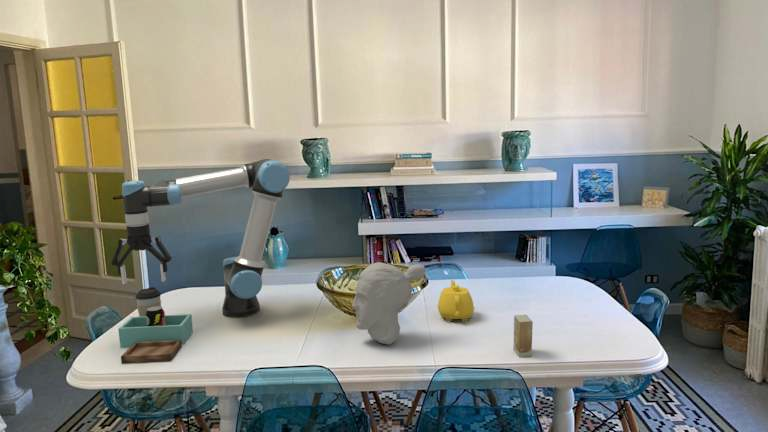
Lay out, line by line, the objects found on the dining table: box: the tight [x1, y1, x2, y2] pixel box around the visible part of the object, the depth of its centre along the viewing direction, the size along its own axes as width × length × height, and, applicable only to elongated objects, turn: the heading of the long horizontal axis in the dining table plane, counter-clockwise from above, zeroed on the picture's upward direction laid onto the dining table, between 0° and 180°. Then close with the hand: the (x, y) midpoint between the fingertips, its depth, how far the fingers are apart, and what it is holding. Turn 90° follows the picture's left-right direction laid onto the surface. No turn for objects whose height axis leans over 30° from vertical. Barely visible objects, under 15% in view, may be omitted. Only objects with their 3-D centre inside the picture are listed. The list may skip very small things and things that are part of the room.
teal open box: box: [118, 313, 194, 348], centre depth 204 cm, size 22×12×7 cm, turn 93°
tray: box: [120, 340, 183, 364], centre depth 191 cm, size 16×12×2 cm
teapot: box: [437, 279, 475, 323], centre depth 218 cm, size 14×20×13 cm
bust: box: [351, 261, 426, 345], centre depth 196 cm, size 15×26×28 cm, turn 99°
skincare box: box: [513, 314, 534, 358], centre depth 183 cm, size 6×4×12 cm
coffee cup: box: [135, 286, 162, 317], centre depth 217 cm, size 9×9×15 cm
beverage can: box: [146, 305, 166, 326], centre depth 204 cm, size 6×6×12 cm
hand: (144, 282), depth 203 cm, fingers open, 13 cm apart
